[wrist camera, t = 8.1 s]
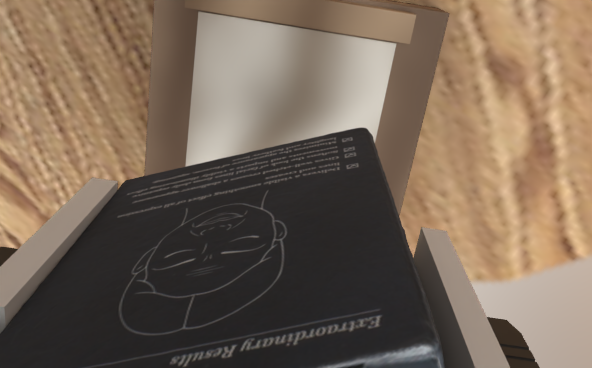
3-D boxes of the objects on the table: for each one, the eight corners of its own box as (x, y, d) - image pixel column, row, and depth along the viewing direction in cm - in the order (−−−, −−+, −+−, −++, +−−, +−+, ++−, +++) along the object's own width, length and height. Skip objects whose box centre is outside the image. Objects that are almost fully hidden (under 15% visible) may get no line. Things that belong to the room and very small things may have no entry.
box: (180, 324, 20) (42, 685, 10) (124, 175, 18) (-117, 443, 8) (404, 282, 19) (497, 636, 9) (371, 120, 17) (446, 348, 7)
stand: (155, 183, 38) (136, 210, 34) (169, -36, 33) (148, -35, 29) (388, 219, 39) (396, 251, 35) (438, 8, 34) (455, 16, 29)
